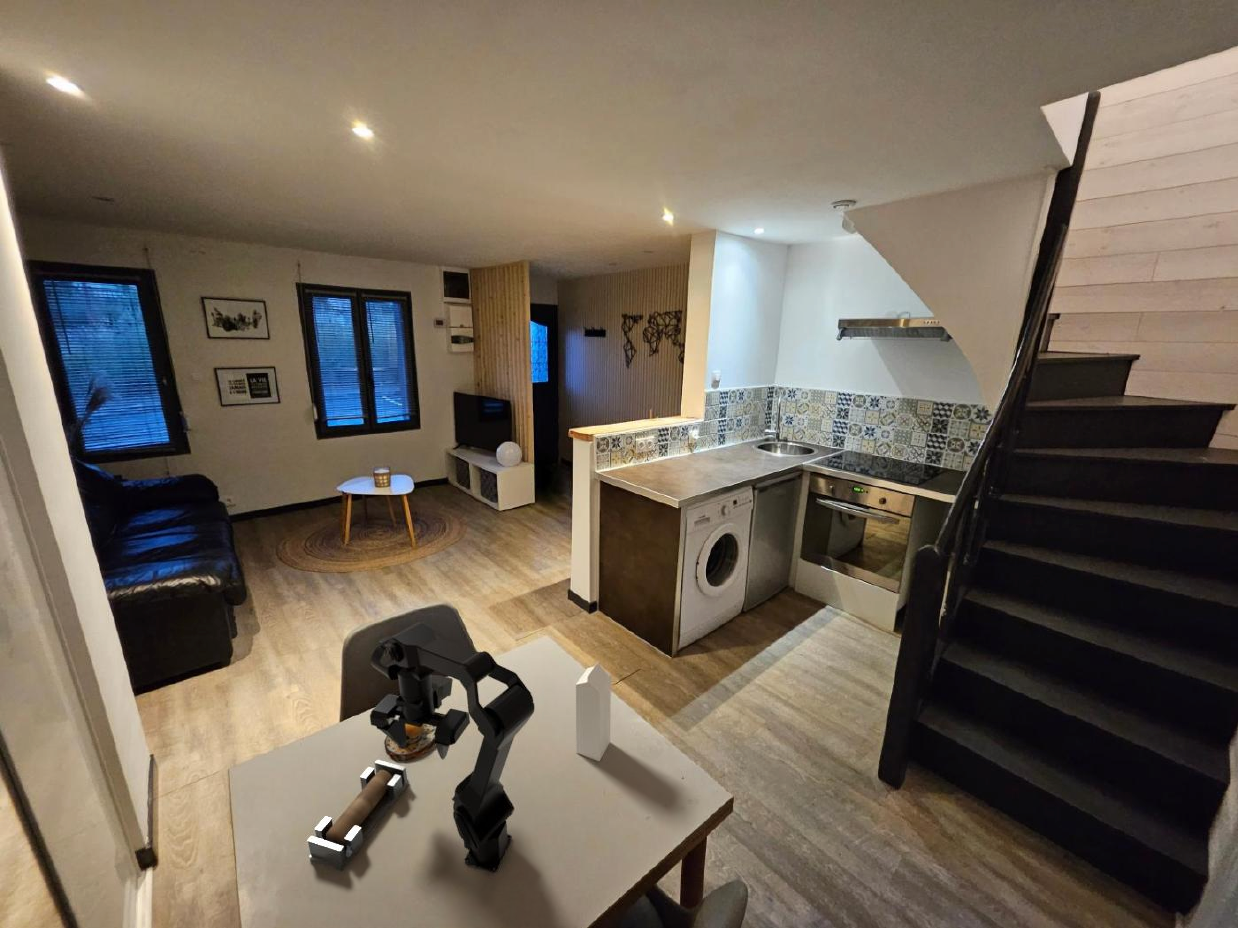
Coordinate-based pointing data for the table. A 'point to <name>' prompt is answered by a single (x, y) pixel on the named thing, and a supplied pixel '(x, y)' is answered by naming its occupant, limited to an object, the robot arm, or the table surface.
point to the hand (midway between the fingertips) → (423, 752)
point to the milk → (593, 712)
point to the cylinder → (359, 808)
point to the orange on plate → (412, 742)
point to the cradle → (341, 855)
